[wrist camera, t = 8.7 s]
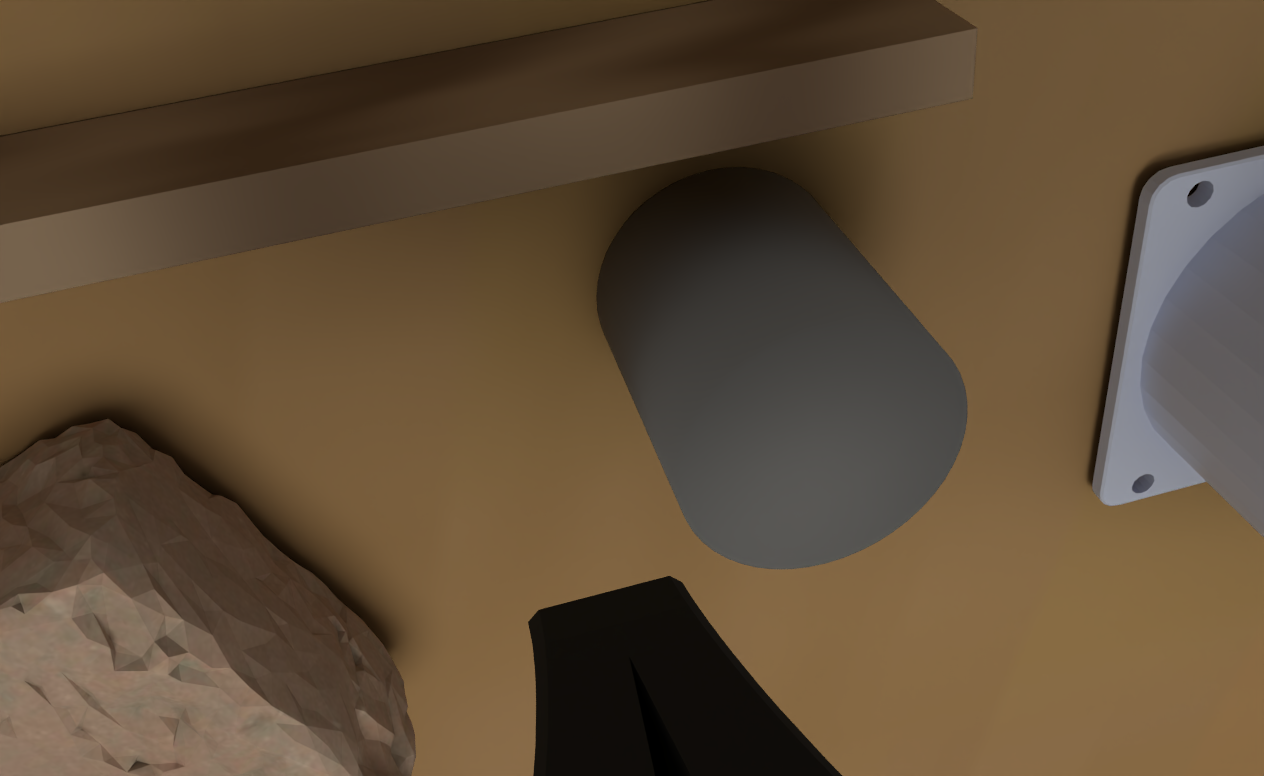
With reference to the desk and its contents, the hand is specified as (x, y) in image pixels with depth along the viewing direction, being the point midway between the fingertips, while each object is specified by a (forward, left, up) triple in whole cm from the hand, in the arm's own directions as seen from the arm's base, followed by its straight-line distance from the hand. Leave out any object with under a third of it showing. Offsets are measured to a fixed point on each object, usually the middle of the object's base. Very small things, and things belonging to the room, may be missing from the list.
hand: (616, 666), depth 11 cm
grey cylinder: (-4, +2, -10) cm, 11 cm away
